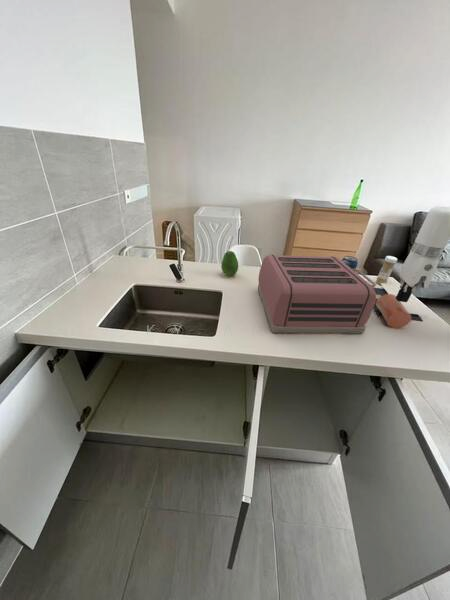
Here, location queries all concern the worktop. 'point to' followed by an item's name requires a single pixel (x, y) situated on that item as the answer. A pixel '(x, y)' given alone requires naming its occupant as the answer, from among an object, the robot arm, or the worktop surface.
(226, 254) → the fruit
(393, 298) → the tumbler
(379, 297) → the block
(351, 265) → the soda can
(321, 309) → the toaster
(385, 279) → the sprinkles bottle
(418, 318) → the mat
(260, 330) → the worktop surface
